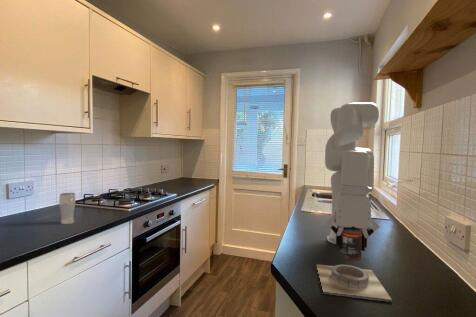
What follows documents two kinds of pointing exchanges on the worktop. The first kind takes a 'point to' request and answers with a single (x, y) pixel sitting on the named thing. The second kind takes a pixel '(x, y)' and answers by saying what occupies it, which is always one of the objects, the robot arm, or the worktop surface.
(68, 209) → the beer glass
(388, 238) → the worktop surface
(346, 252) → the supplement bottle
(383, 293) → the collar board
